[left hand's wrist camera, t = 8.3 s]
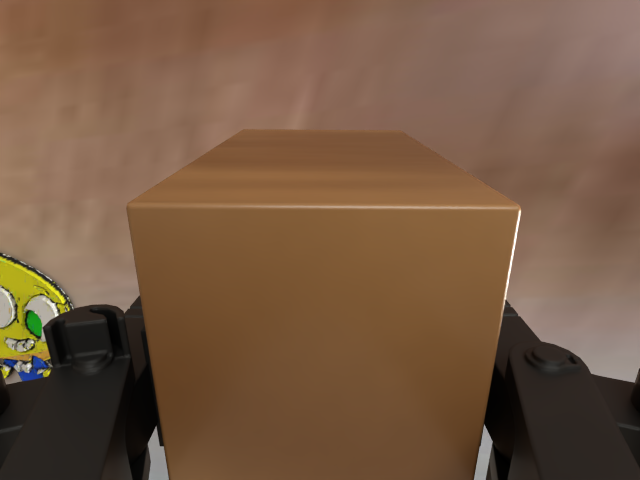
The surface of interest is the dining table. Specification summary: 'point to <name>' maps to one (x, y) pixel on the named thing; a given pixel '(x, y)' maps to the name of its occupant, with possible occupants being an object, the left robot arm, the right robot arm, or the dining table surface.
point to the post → (322, 307)
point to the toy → (26, 317)
